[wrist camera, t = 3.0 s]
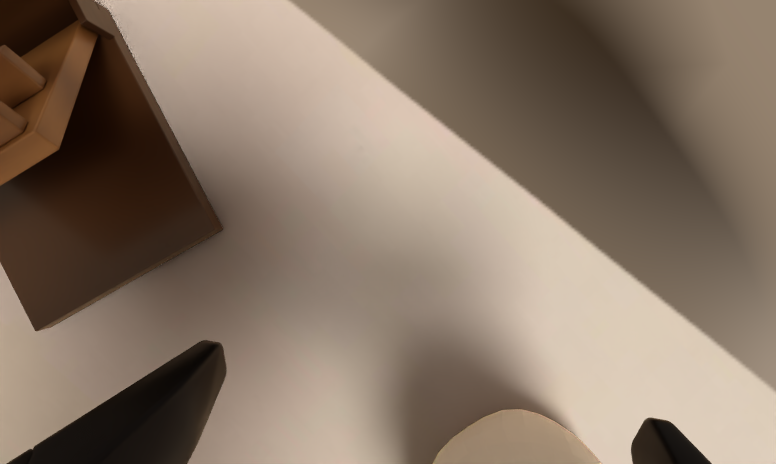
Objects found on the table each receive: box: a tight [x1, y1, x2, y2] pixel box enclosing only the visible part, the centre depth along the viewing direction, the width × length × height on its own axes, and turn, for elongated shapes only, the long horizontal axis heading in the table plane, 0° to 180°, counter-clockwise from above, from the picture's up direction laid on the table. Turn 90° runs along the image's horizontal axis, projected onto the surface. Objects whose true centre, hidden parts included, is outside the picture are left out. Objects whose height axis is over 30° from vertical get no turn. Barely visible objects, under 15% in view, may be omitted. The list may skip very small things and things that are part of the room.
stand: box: [0, 0, 223, 331], centre depth 22 cm, size 14×12×6 cm
